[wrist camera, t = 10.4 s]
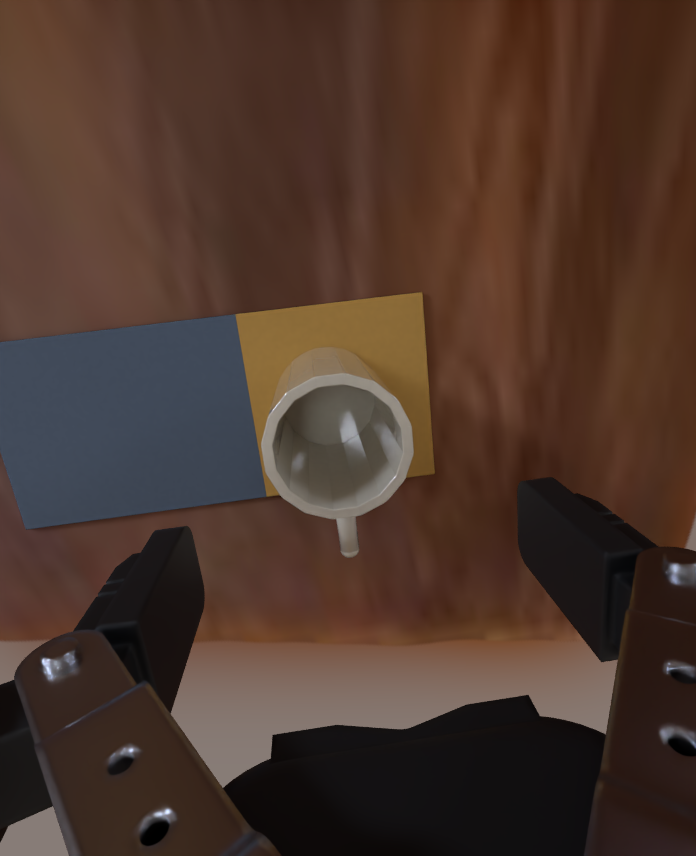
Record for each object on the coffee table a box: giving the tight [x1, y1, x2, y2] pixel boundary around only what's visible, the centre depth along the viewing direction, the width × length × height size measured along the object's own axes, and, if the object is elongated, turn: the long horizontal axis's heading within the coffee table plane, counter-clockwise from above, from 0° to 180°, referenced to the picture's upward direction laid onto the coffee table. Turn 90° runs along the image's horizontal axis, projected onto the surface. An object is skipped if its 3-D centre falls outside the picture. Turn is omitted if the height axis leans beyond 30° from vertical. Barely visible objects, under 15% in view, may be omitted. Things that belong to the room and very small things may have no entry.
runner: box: [0, 292, 435, 529], centre depth 29 cm, size 11×25×1 cm, turn 96°
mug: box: [261, 347, 414, 558], centre depth 25 cm, size 9×6×10 cm
